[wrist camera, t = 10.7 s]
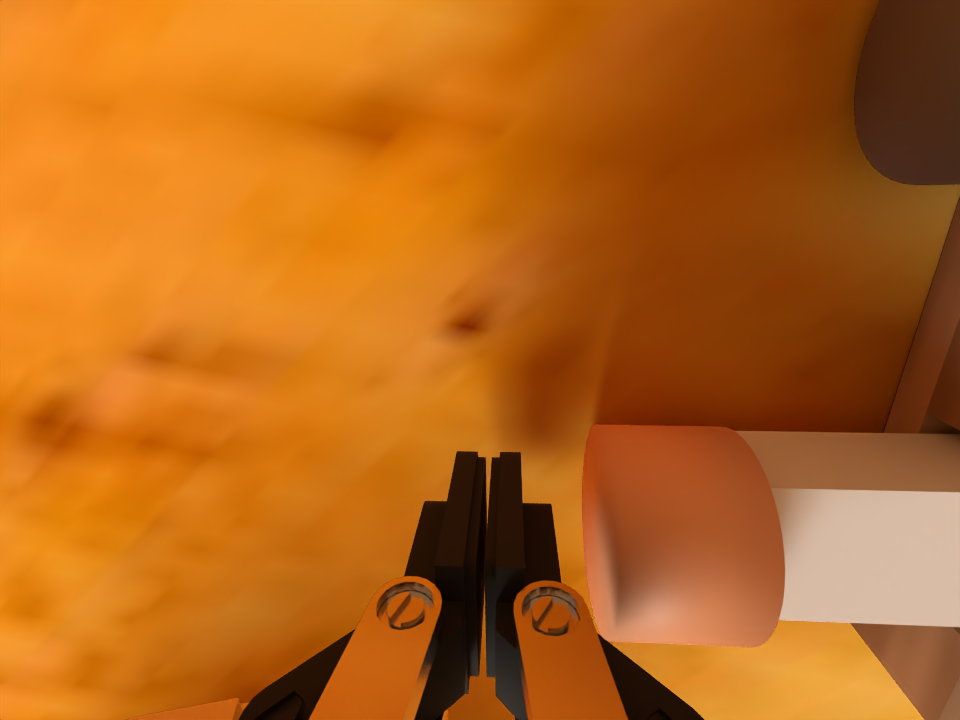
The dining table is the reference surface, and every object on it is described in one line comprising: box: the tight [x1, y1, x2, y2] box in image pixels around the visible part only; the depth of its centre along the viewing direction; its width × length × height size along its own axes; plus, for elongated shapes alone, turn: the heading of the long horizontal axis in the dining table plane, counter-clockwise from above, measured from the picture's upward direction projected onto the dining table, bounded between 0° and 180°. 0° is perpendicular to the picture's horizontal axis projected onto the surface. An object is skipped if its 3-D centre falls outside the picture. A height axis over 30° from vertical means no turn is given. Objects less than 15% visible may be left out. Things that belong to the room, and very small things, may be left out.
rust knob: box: [582, 424, 960, 647], centre depth 11 cm, size 13×5×5 cm, turn 91°
